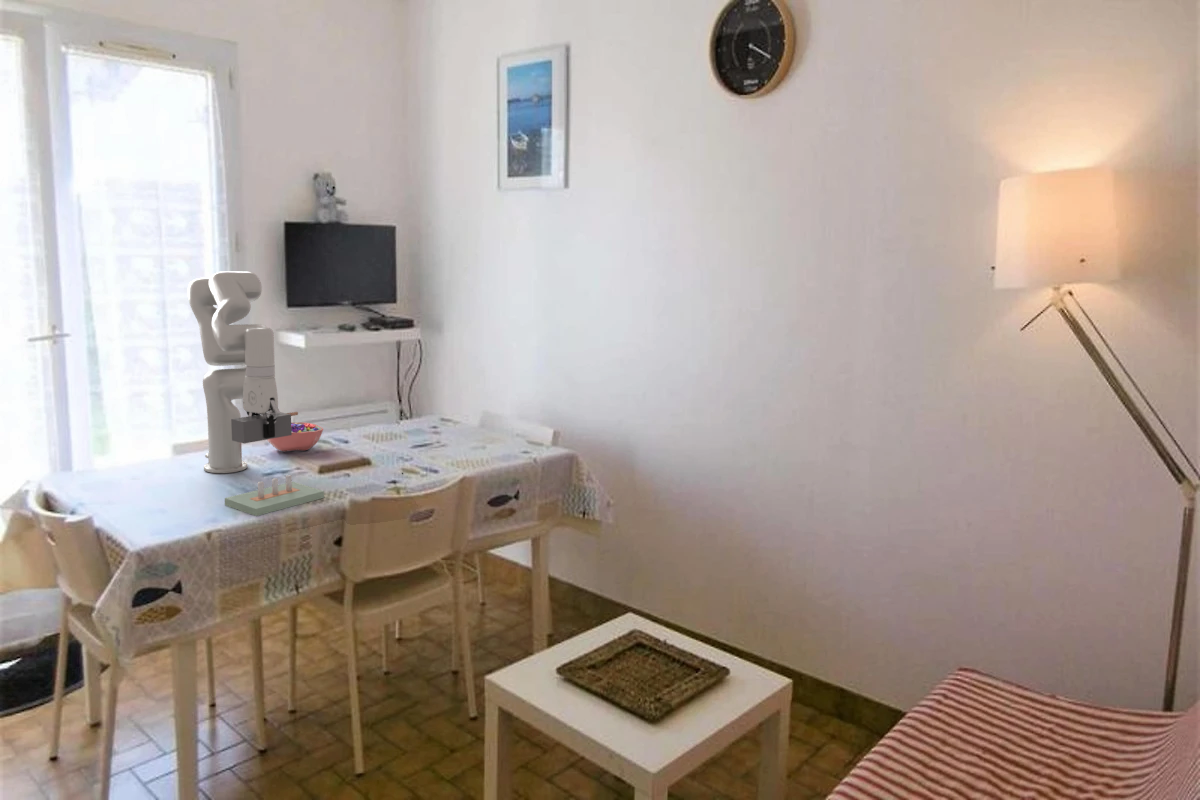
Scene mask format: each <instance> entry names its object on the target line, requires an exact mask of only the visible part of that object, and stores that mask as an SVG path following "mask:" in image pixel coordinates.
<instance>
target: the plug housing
mask: <svg viewBox="0 0 1200 800" xmlns="http://www.w3.org/2000/svg"><path fill="white" fill-rule="evenodd" d="M298 415H299V412H298V411H291V412H287V413H286V412H281V411H280V415H279V416H278V417H277V419H276V423H275V437H271V438H264V429H263V424H265V422H264V417H263V414H260V415H255V416H243V417H241V418H235V419H231V427H232V441H236V442H240V443H241V444H250V443H254V442H255V443H256V442H260V441H266V440H267V439H272V438H278V437H284V436H289V435H292V430H291V423H292V417H294V416H298ZM267 416H268V418H269V416H270V415H267ZM267 441H268V440H267Z"/></svg>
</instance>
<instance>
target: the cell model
mask: <svg viewBox="0 0 1200 800" xmlns="http://www.w3.org/2000/svg"><path fill="white" fill-rule="evenodd" d="M291 430H292V435H289V436H284V437H278V438H272V439H267V442H268V443H269V444H270V445H271V446H272V447H273V448H275V449H276V450H278V451H280V452H295V451H301V452H302V451H303V452H304V451H305V452H306V451H308V450H310V449H311V448H313V447H314V446H315V445H317V443H318V442H319V441H320V438H321V436H322V434H323V431H324V428H323V427H322V426H320V425H318V424H315V423H310V422H291Z"/></svg>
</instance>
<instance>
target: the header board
mask: <svg viewBox="0 0 1200 800" xmlns="http://www.w3.org/2000/svg"><path fill="white" fill-rule="evenodd" d="M324 498H325V491H324V490H322V489H319V488H316V487H312V486H309V485H305V484H302V483H299V482H296V481H293V476H292V475H291V474H287V475H285V482H284V483H281V484H279V479H278V478H277V477H274V478H272V479H271V486H269V487H266V488H265V482H264V481H258V482H257V489H255V490H253V491H248V492H244V493H241V494H236V495H232V496H228V497H225V498H224V505H225V506H227V507H228V508H229V507H230V508H232V509H234V510H235V509H236V510H237V509H238V510H237V511H241V512H244V513H246V514H249V515H252V516H254V517H257V516H258V517H259V516H261V515H266V514H269V513H273V512H277V511H279V510H283V509H288V508H292V507H294V506H298V505H302V504H306V503H309V502H313V501H317V500H321V499H324Z"/></svg>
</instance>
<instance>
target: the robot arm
mask: <svg viewBox="0 0 1200 800" xmlns="http://www.w3.org/2000/svg"><path fill="white" fill-rule="evenodd" d="M262 289H263V286H262V282H261V279H260V278H259V276H258V275H257V274H256V273H254V272H251V271H232V270H231V271H230V270H229V271H228V270H225V271H218V272H216V273H214V274H212V275H211V276H210V277H200V278H195V279H193V280H192V281H190V282H189V284H188V287H187V297H188V298H187V300H188V302H189V305H190V308H191V311H192V312H193V313H192V314H193V315H194V317H195V319H196V320H197V323H198V327H199V334H200V341H201V348H202V352H203V358H204V360H205V362H206V363H207V364H208V365H210V366H213V367H224V366H241V368H222V369H221V368H220V369H213V370H211V371H208V372H207V373H206V374H204V376H203V379H202V387H203V388H202V389H203V392H204V398H205V403H206V413H207V416H206V418H207V437H208V439H207V440H208V443H207V444H208V453H206V454H205V455H204V457H205V458H206V459H208V462H207V463H205V464H204V465H203V470H204V471H205V472H208V473H212V474H231V473H237V472H242V471H244V470H246V469H247V468H248V462H246V461H243V453H242V452H243V451H242V445H243V443H240V442H236V441H232V427H231V419H235V418H242V417H241V411H240V409H238V407H237V406H236V405H235V404H234V403H233V402H232V401H233V400H241V399H242V406H243V411H245V412H246V414H247V417H249V416H255V415H262V414H263V417H264V422H265V424H263V429H264V438H271V437H275V423H276V419H277V417H278V416H279V415H280V412H281V411H280V409H279V408H278V407H279V397H278V396H279V395H278V387H277V381H276V378H275V377H276V370H275V369H276V367H275V365H276V363H275V337H274V333H275V332H274V330H273V329H272V328H270V327H268V326H266V325H265V324H261V323H260V324H259V323H257V324H256V323H254V324H253V323H252V324H251V323H250V324H245V323H244V324H234V323H236V322H238V321H241V320H242V319H244V318H246V317H247V316H248V315H249V313H250V312H251V308H252V304H251V303H253V302H255V301H257V300H258V299H259V298H260V296H261V295H262V291H263V290H262ZM215 306H217V307H215ZM267 415H270V416H269V418H268V416H267Z"/></svg>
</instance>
